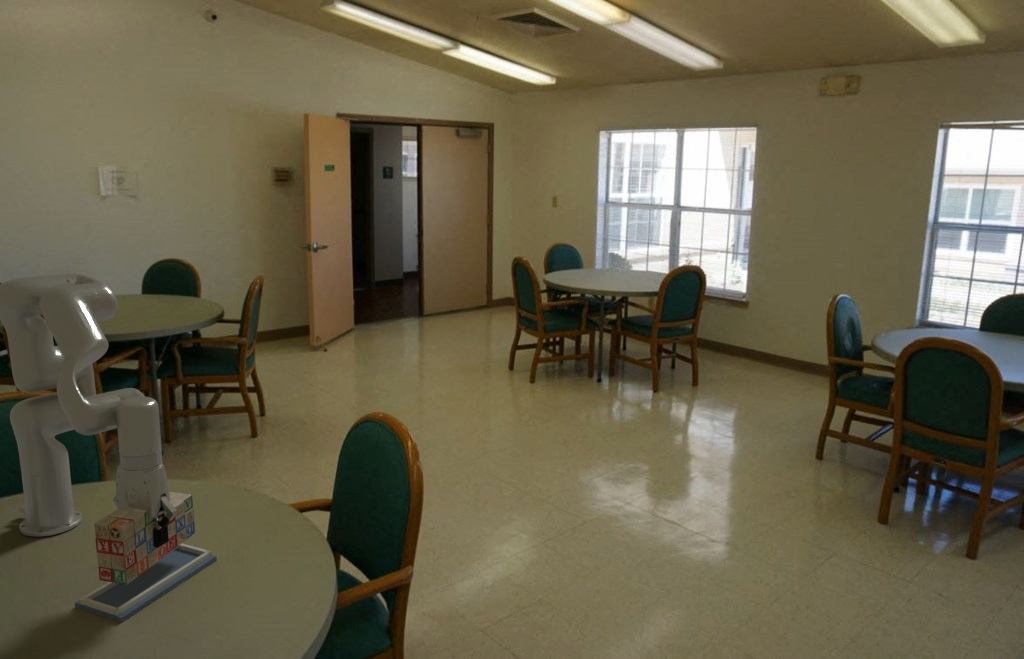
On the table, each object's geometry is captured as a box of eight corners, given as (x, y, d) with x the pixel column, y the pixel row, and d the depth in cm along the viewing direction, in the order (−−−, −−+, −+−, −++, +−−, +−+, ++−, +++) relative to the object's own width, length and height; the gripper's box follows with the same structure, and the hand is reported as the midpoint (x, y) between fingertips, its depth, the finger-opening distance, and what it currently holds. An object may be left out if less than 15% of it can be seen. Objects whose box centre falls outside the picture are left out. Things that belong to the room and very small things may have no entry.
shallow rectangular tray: (75, 607, 145) (74, 598, 144) (174, 548, 167) (173, 540, 167) (121, 622, 140) (120, 613, 140) (216, 560, 163) (216, 552, 163)
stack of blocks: (170, 529, 164) (167, 477, 161) (195, 533, 163) (192, 481, 160) (98, 580, 144) (93, 522, 141) (126, 585, 142) (122, 526, 140)
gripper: (92, 458, 148) (100, 540, 151) (159, 473, 142) (165, 558, 145) (124, 445, 154) (130, 524, 158) (189, 459, 149) (194, 541, 152)
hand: (147, 540), depth 152 cm, fingers closed on stack of blocks, 6 cm apart
